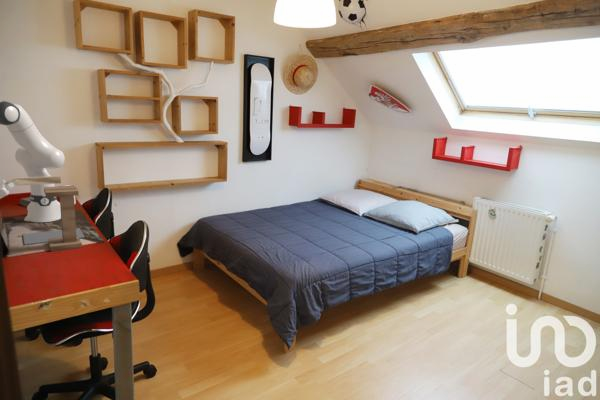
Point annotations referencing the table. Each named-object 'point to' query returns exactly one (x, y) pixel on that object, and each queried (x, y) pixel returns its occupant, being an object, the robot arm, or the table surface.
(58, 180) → the ash bar
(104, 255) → the table surface
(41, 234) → the rubber mat
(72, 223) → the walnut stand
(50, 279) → the table surface
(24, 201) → the marble piece
